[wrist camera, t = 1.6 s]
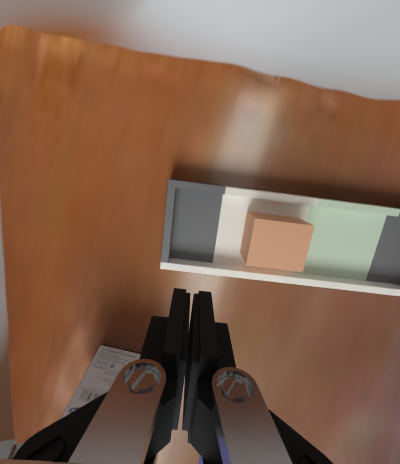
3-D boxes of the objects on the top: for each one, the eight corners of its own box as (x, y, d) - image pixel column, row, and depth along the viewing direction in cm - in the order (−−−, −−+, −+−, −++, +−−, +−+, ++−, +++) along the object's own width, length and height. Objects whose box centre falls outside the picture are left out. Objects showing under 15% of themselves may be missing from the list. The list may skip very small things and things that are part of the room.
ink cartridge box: (91, 375, 34) (17, 520, 20) (98, 342, 33) (24, 473, 19) (161, 390, 35) (135, 540, 21) (170, 359, 34) (150, 497, 19)
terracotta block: (298, 217, 28) (314, 225, 24) (289, 258, 29) (302, 272, 26) (247, 211, 28) (254, 218, 24) (239, 252, 29) (246, 265, 25)
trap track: (428, 211, 28) (445, 215, 27) (400, 289, 31) (413, 297, 29) (170, 178, 27) (168, 179, 25) (162, 262, 30) (160, 268, 28)
